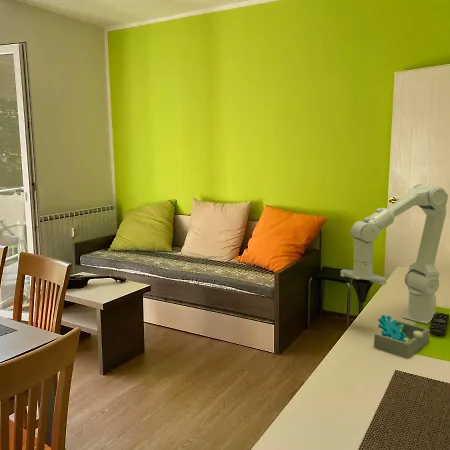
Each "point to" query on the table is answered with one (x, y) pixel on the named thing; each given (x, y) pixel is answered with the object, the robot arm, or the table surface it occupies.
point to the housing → (402, 348)
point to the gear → (391, 328)
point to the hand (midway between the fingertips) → (362, 302)
